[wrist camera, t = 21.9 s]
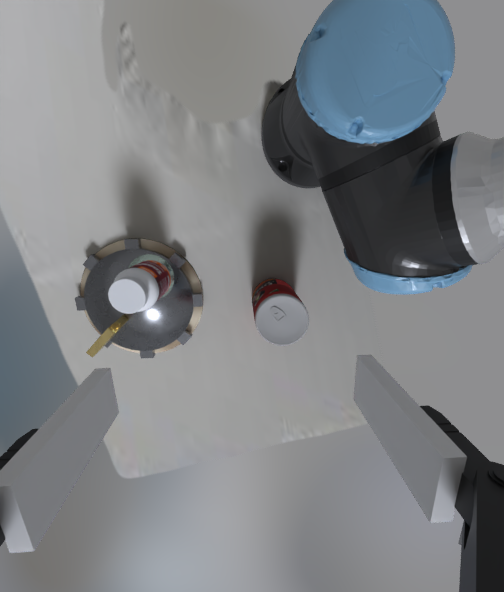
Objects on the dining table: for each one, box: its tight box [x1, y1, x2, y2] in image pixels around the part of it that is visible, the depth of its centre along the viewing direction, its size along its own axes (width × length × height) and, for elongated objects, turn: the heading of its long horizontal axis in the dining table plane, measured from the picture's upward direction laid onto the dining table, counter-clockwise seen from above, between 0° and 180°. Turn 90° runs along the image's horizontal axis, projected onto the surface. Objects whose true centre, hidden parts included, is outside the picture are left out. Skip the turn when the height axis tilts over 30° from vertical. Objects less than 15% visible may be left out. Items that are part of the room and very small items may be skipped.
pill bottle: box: [108, 260, 171, 314], centre depth 41 cm, size 6×6×11 cm
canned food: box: [252, 279, 309, 346], centre depth 45 cm, size 8×8×11 cm
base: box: [81, 238, 203, 353], centre depth 49 cm, size 21×21×1 cm
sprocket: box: [75, 239, 203, 358], centre depth 45 cm, size 21×21×8 cm
